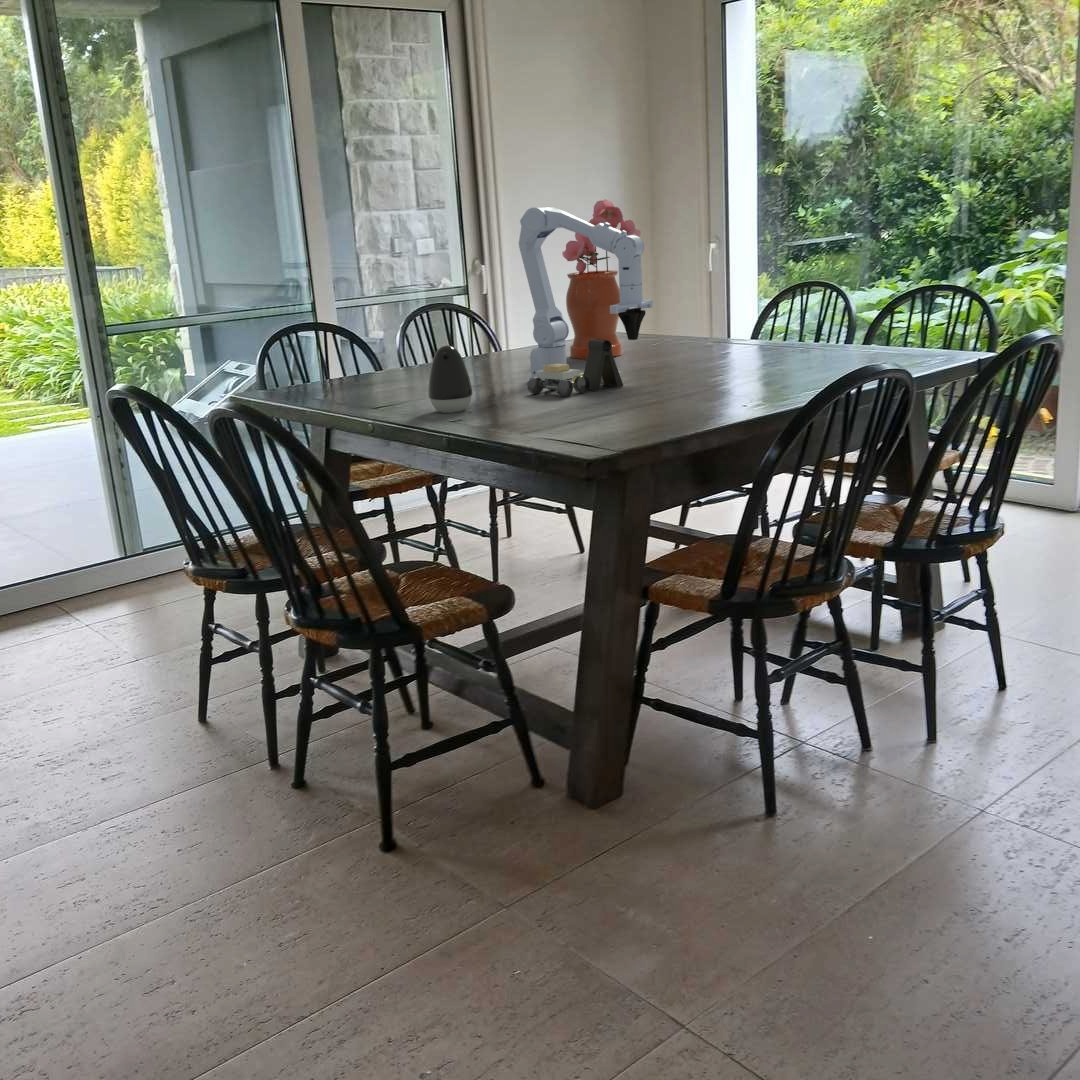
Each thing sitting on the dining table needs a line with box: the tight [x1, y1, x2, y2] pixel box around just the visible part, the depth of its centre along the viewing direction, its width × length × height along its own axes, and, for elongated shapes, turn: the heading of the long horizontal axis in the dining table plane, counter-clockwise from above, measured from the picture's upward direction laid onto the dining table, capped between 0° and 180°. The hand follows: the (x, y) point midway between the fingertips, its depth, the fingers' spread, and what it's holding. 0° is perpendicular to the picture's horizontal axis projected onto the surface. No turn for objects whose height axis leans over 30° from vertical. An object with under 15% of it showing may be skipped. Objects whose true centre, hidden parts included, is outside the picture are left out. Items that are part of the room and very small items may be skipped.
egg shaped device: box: [427, 345, 473, 414], centre depth 258 cm, size 10×10×15 cm
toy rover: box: [527, 363, 590, 398], centre depth 274 cm, size 12×10×7 cm
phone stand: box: [583, 339, 624, 392], centre depth 277 cm, size 9×6×12 cm, turn 121°
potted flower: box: [562, 199, 642, 360], centre depth 331 cm, size 19×25×45 cm
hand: (632, 339), depth 284 cm, fingers closed
